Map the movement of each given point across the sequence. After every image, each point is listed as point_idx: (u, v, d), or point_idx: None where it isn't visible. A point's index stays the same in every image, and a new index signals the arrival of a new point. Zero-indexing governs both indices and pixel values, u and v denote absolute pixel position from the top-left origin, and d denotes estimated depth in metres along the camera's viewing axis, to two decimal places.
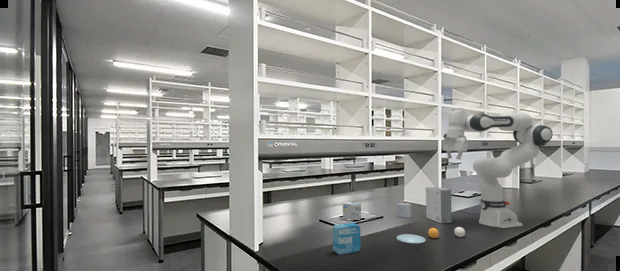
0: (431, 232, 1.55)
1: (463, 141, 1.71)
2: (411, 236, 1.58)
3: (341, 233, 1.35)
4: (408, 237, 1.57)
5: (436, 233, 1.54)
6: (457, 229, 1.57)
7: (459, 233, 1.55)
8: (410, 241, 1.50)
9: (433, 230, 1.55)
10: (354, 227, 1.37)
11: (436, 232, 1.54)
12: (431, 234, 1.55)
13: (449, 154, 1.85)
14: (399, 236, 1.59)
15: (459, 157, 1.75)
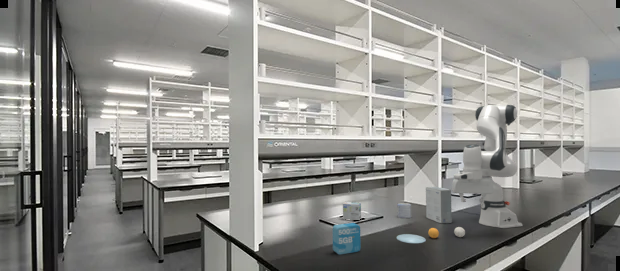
0: (431, 232, 1.55)
1: None
2: (411, 236, 1.58)
3: (341, 233, 1.35)
4: (408, 237, 1.57)
5: (436, 233, 1.54)
6: (457, 229, 1.57)
7: (459, 233, 1.55)
8: (410, 241, 1.50)
9: (433, 230, 1.55)
10: (354, 227, 1.37)
11: (436, 232, 1.54)
12: (431, 234, 1.55)
13: None
14: (399, 236, 1.59)
15: None
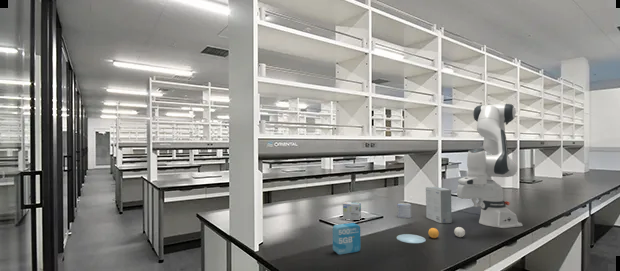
0: (431, 232, 1.55)
1: None
2: (411, 236, 1.58)
3: (341, 233, 1.35)
4: (408, 237, 1.57)
5: (436, 233, 1.54)
6: (457, 229, 1.57)
7: (459, 233, 1.55)
8: (410, 241, 1.50)
9: (433, 230, 1.55)
10: (354, 227, 1.37)
11: (436, 232, 1.54)
12: (431, 234, 1.55)
13: None
14: (399, 236, 1.59)
15: None
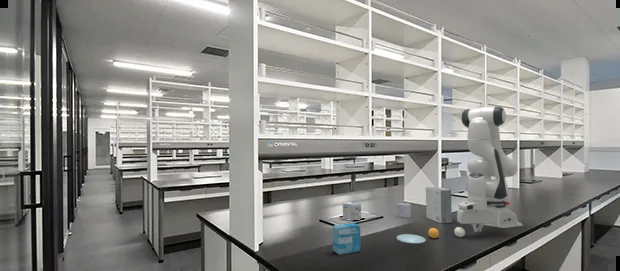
0: (431, 232, 1.55)
1: None
2: (411, 236, 1.58)
3: (341, 233, 1.35)
4: (408, 237, 1.57)
5: (436, 233, 1.54)
6: (457, 229, 1.57)
7: (459, 233, 1.55)
8: (410, 241, 1.50)
9: (433, 230, 1.55)
10: (354, 227, 1.37)
11: (436, 232, 1.54)
12: (431, 234, 1.55)
13: None
14: (399, 236, 1.59)
15: None
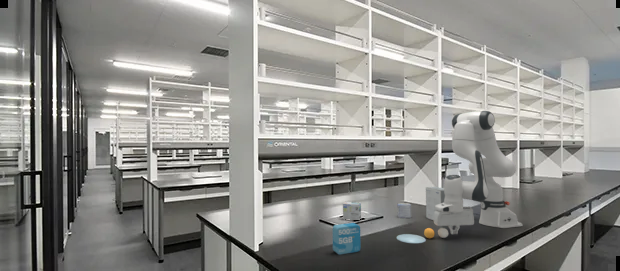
0: (427, 235, 1.55)
1: None
2: (411, 236, 1.58)
3: (341, 233, 1.35)
4: (408, 237, 1.57)
5: (431, 233, 1.54)
6: None
7: (447, 233, 1.55)
8: (410, 241, 1.50)
9: (427, 233, 1.55)
10: (354, 227, 1.37)
11: (430, 232, 1.54)
12: (428, 237, 1.55)
13: None
14: (399, 236, 1.59)
15: None
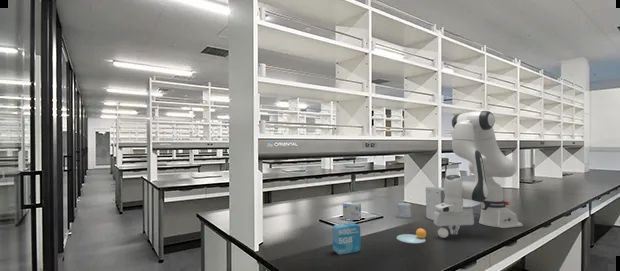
0: (424, 237, 1.54)
1: None
2: (411, 236, 1.58)
3: (341, 233, 1.35)
4: (408, 237, 1.57)
5: (422, 235, 1.53)
6: None
7: (447, 233, 1.55)
8: (410, 241, 1.50)
9: (422, 238, 1.54)
10: (354, 227, 1.37)
11: (421, 235, 1.54)
12: (425, 235, 1.54)
13: None
14: (399, 236, 1.59)
15: None
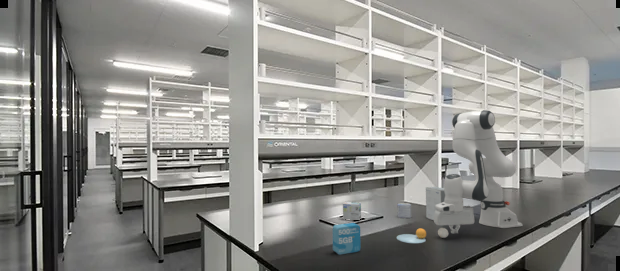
0: (424, 237, 1.54)
1: None
2: (411, 236, 1.58)
3: (341, 233, 1.35)
4: (408, 237, 1.57)
5: (422, 235, 1.53)
6: None
7: (447, 233, 1.55)
8: (410, 241, 1.50)
9: (422, 238, 1.54)
10: (354, 227, 1.37)
11: (421, 235, 1.54)
12: (425, 235, 1.54)
13: None
14: (399, 236, 1.59)
15: None
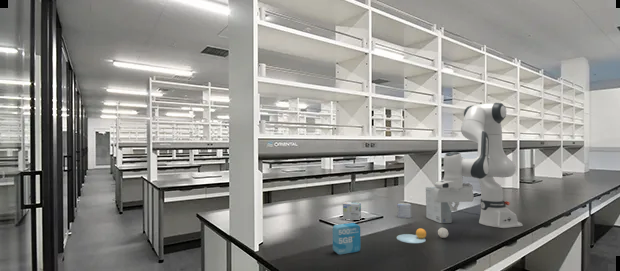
0: (424, 237, 1.54)
1: None
2: (411, 236, 1.58)
3: (341, 233, 1.35)
4: (408, 237, 1.57)
5: (422, 235, 1.53)
6: None
7: (447, 233, 1.55)
8: (410, 241, 1.50)
9: (422, 238, 1.54)
10: (354, 227, 1.37)
11: (421, 235, 1.54)
12: (425, 235, 1.54)
13: None
14: (399, 236, 1.59)
15: None
